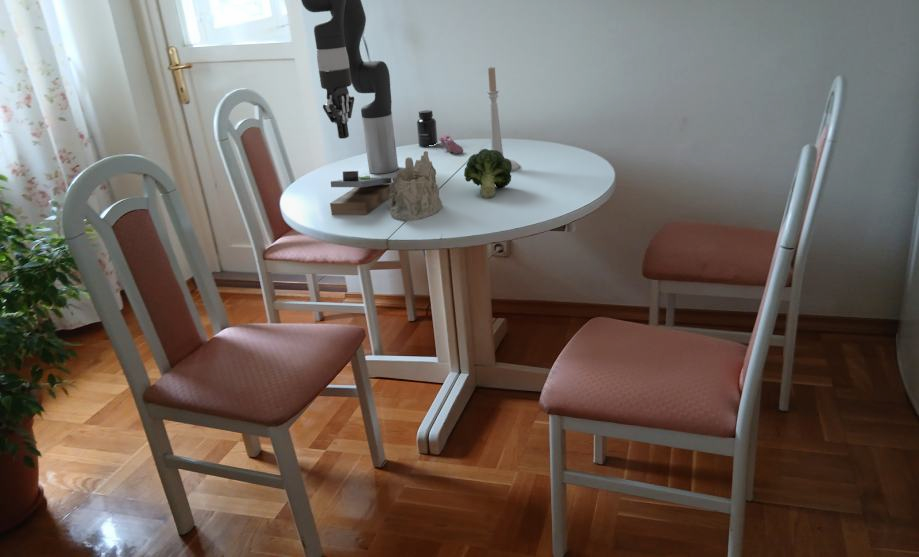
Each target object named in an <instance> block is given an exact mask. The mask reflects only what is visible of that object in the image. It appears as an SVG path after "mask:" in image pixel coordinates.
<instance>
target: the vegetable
mask: <svg viewBox="0 0 919 557" xmlns="http://www.w3.org/2000/svg"><path fill="white" fill-rule="evenodd" d="M509 159H510V158H507V157H506V158H505V156H504V154H503V155H502V153H501V152H499V151H497V150H491V149H487V148H483V149H480V150H479V151H478V153H475V154H472V155H470V156H469V157H468V161H467V163H466V164H465V165H466V167H465V168H464V172H463V176H464V177H465V178H464V179H465V181H466V182H467V183H468V182H470V181H472V182H473V184H475V185H476V186H477V187H479V186H480V195H481V197H483V198H485V199H491V198H493V197H494V196H496V188H497V189H498V190H500V189H501V190H502V189H503V188H505V187H506V186H508V185H509V184H510V183H511V181H512V175H511V170H512V164H511V161H510V160H511V159H510V160H509Z"/></svg>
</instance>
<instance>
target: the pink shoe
mask: <svg viewBox="0 0 919 557" xmlns="http://www.w3.org/2000/svg"><path fill="white" fill-rule="evenodd" d="M439 145H440V146H443V147H444V149H446V151H447V150H448V151H447V152H449V153H450V152H452V153H456V154H459V153H461V152H463V153H464V149H463V147H462V146H461V145H459V144H457V143H456V142H455V141H454V139H453V138H452V137H451V136H450V135H446V134H444V135H442V136H441V137H440V138H439ZM461 154H462V153H461Z"/></svg>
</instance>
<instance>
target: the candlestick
mask: <svg viewBox="0 0 919 557" xmlns="http://www.w3.org/2000/svg"><path fill="white" fill-rule="evenodd" d="M487 74H488V75H487V76H488V89H489V90H488V91H486V93H487V94H488V98H489V101H490V136H491V137H490V140H491V141H490V143H491V149H490V150H497V151H499V152H501V153H502V155H503V156H504V151H503V150H504V149H503V143H502V133H501V132H502V131H501V124H500V116H499V108H498V107H499V106H498V103H497V100H498V98H499V96H498V94H499V92H500V90H498V89H497V81H496V80H497V79H496V67H492V66H490V67H487ZM508 159H509V160H510V161H511V164H512V170H511V172H515V171H517V170H518V169H519V168H520V163H518V162H517V161H515V160H513V159H510V158H508ZM511 172H510V173H511Z"/></svg>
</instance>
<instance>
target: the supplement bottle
mask: <svg viewBox="0 0 919 557" xmlns="http://www.w3.org/2000/svg"><path fill="white" fill-rule="evenodd" d="M418 118H419V119H418V120H417V122H416V129H417V140H418V146H419V147H420V146H429V145H434V144H436V143H438V142H439V141H438V130H437V121H436V119H435V118H433V111H432V110H431V109H430V110H429V109H428V110H427V109H426V110H420V111H418Z"/></svg>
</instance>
